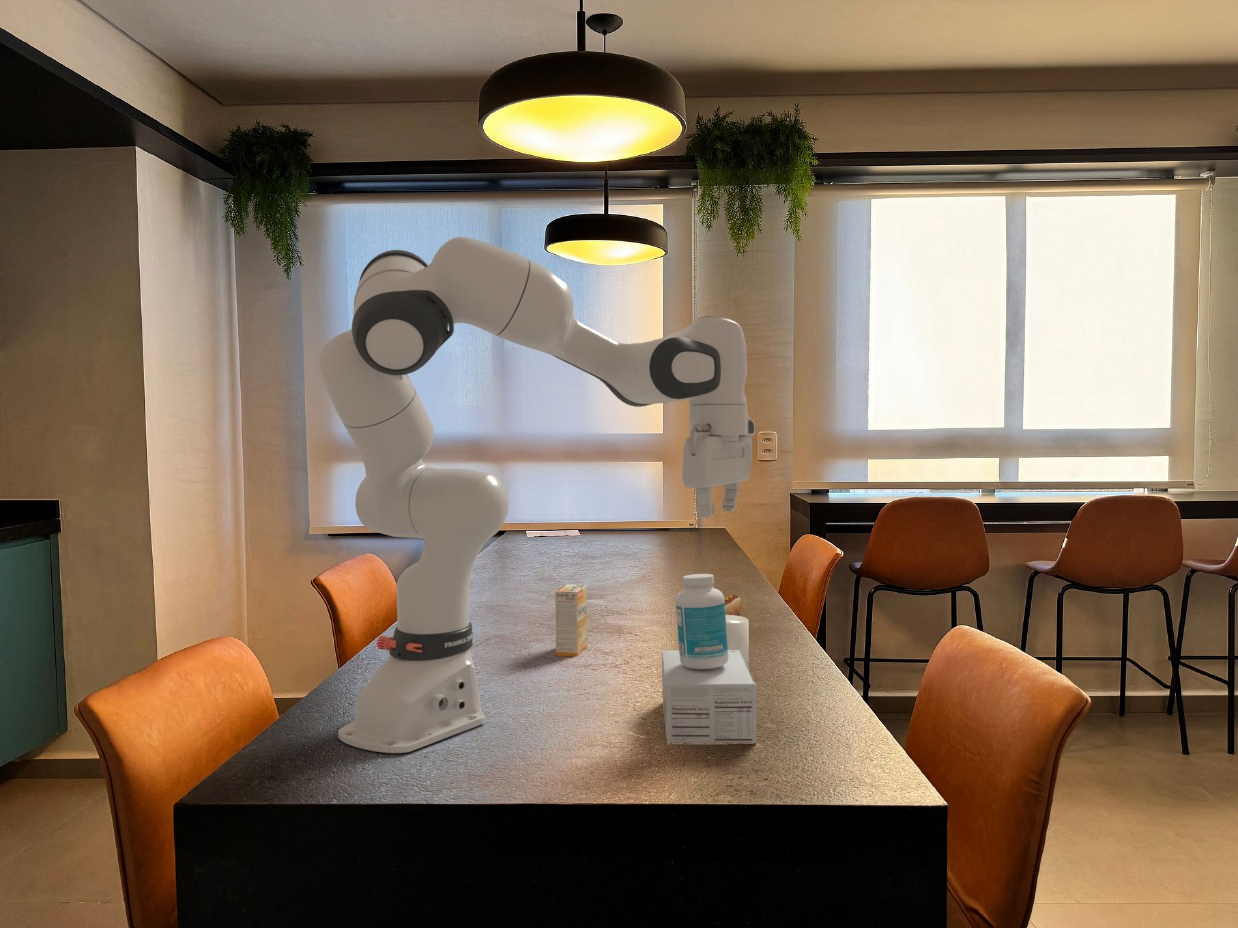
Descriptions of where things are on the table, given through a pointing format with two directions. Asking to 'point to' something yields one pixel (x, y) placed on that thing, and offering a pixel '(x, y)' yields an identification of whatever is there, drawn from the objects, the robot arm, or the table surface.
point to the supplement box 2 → (708, 701)
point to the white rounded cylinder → (738, 635)
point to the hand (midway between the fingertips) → (718, 513)
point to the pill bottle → (701, 623)
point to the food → (732, 605)
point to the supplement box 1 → (571, 619)
